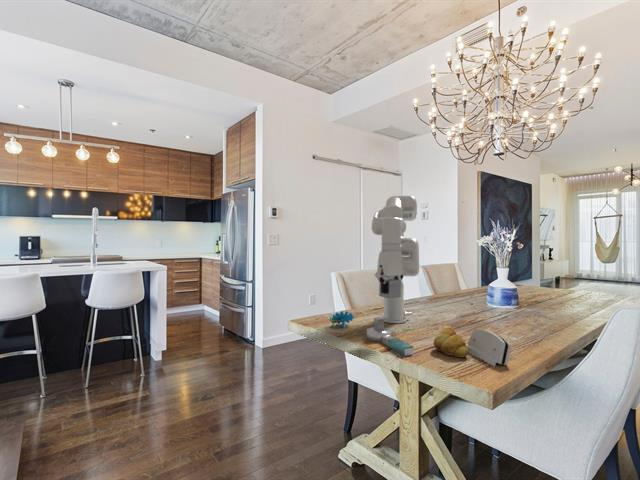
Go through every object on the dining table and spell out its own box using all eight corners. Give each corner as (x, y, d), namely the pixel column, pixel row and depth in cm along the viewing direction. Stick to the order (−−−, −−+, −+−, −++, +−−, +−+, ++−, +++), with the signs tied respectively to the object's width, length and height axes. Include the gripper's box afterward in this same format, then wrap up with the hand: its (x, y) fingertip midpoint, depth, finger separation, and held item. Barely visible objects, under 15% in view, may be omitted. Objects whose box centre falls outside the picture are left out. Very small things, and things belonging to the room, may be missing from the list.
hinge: (462, 349, 125) (470, 323, 125) (472, 352, 126) (480, 327, 126) (494, 366, 108) (503, 337, 109) (506, 370, 109) (515, 341, 110)
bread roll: (474, 358, 116) (475, 335, 116) (450, 361, 113) (451, 337, 113) (450, 346, 128) (450, 325, 128) (428, 348, 126) (428, 327, 126)
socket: (390, 294, 140) (390, 277, 140) (400, 297, 135) (400, 279, 135) (379, 295, 137) (379, 278, 137) (389, 298, 132) (389, 281, 132)
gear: (354, 320, 159) (352, 308, 152) (355, 331, 155) (353, 320, 148) (331, 322, 160) (328, 311, 153) (331, 334, 156) (328, 323, 149)
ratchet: (383, 333, 144) (383, 314, 144) (420, 353, 120) (421, 331, 120) (362, 335, 141) (362, 316, 141) (396, 356, 117) (397, 334, 116)
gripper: (400, 247, 143) (399, 289, 143) (368, 248, 134) (367, 293, 135) (413, 248, 136) (412, 292, 137) (380, 249, 127) (380, 296, 128)
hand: (390, 292), depth 136 cm, fingers closed on socket, 6 cm apart
